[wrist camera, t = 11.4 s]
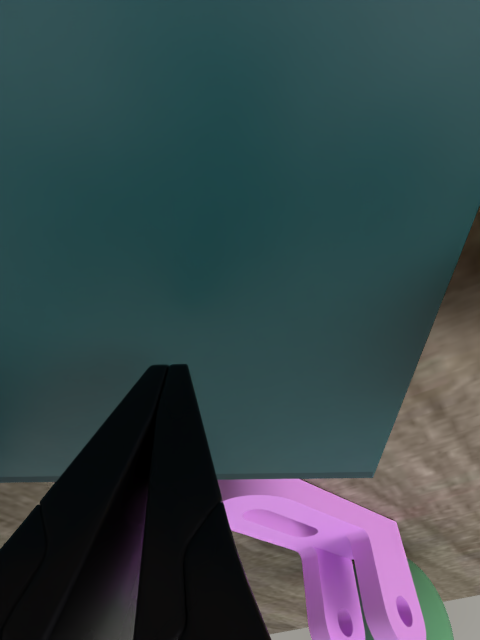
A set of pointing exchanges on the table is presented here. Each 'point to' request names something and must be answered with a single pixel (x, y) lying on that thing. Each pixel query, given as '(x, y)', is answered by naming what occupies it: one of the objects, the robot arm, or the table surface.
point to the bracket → (333, 556)
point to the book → (229, 218)
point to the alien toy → (422, 606)
